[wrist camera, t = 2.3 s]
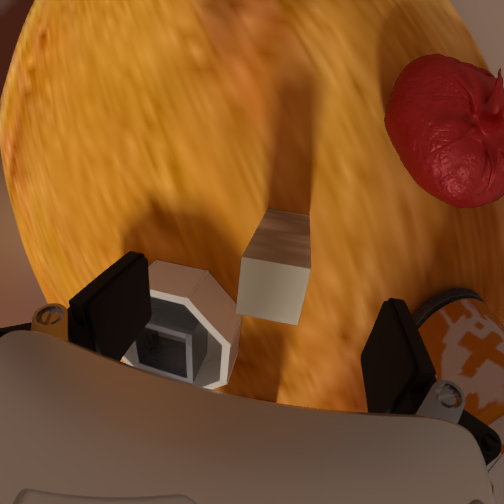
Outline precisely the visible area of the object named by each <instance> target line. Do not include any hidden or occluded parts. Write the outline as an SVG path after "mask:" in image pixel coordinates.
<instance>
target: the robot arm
mask: <svg viewBox="0 0 504 504" xmlns="http://www.w3.org/2000/svg"><path fill="white" fill-rule="evenodd" d="M69 304H70V307H69V308H68V309H66V307H65V306H63V305H61V304H57V303H52V304H47V305H45V306H42V307H41V308H39V309H38V310H36V312H35V313H34V315H33V318H32V323H26V324H21V325H16V326H10V327H5V328H0V504H504V453H503V454H501V453H500V452H501V448H502V443H501V439H500V437H499V435H498V434H497V433H496V432H495V431H494V430H493V429H492V428H490V427H489V426H487V425H486V424H484V423H483V422H482V421H480V420H479V419H477V418H476V417H474V416H473V415H472V414H470V413H469V412H467V411H466V410H464V406H465V401H466V400H465V395H464V393H463V391H462V390H461V389H460V387H459V386H458V385H456V384H455V383H453V382H451V381H448V380H439V381H437V379H436V376H435V375H436V371H435V368H434V366H433V363H432V361H431V359H430V356H429V354H428V351H427V349H426V347H425V344H424V342H423V340H422V337H421V335H420V333H419V331H418V328H417V326H416V324H415V322H414V320H413V318H412V316H411V313H410V311H409V309H408V307H407V305H406V303H405V301H404V300H401V299H394V298H390V299H389V300H388V301H384V303H383V304H382V307H381V310H380V312H379V315H378V317H377V319H376V322H375V324H374V327H373V329H372V331H371V334H370V336H369V338H368V340H367V343H366V345H365V347H364V349H363V351H362V354H361V366H362V372H363V378H364V385H365V392H366V399H367V407H368V413H363V412H350V411H337V410H326V409H317V408H309V407H301V406H294V405H287V404H280V403H274V402H268V401H263V400H257V399H252V398H247V397H242V396H237V395H233V394H228V393H224V392H219V391H215V390H211V389H207V388H203V387H199V386H196V385H192V384H188V383H185V382H181V381H178V380H174V379H171V378H168V377H164V376H161V375H158V374H155V373H152V372H149V371H146V370H143V369H140V368H137V367H134V366H131V365H128V364H126V363H123V362H120V360H121V359H122V357H123V356H124V355H125V353H126V352H127V351H128V349H129V348H130V346H131V345H132V344H133V342H134V341H135V340H136V338H137V337H138V336H139V334H140V333H141V332H142V330H143V329H144V328H145V326H146V325H147V324H148V322H149V321H150V319H151V316H152V308H151V297H150V285H149V270H148V260H147V258H145V256H144V254H142V253H137V252H132V251H130V252H128V253H127V254H125V255H124V256H123V257H122V258H120V259H119V260H118V261H116V262H115V263H114V264H113V265H111V266H110V267H109V268H108V269H106V270H105V271H104V272H103V273H102V274H100V275H99V276H98V277H97V278H95V279H94V280H93V281H92V282H91V283H89V284H88V285H87V286H86V287H85V288H83V289H82V290H81V291H80V292H79V293H78V294H76V295H75V296H74V297H73V298H72V299H71V300H69Z"/></svg>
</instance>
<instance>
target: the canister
mask: <svg viewBox="0 0 504 504" xmlns="http://www.w3.org/2000/svg"><path fill="white" fill-rule="evenodd" d="M413 320H414V322H415V324H416V326H417V328H418V331H419V333H420V335H421V337H422V340H423V342H424V344H425V347H426V349H427V351H428V354H429V356H430V359H431V361H432V363H433V366H434V368H435V371H436V375H435V376H436V379H437V381H439V380H448V381H451V382H453V383H455V384H456V385H458V386H459V387H460V389H461V390H462V391H463V393H464V395H465V400H466V401H465V406H464V410H466V411H467V412H469V413H470V414H472V415H473V416H474V417H476V418H477V419H479V420H480V421H482V422H483V423H484V424H486V425H487V426H489V427H490V428H492V429H493V430H494V431H495V432H496V433H497V434H498V435H499V437H500V439H501V443H502V448H501V452H500V453H501V454H503V453H504V327H503V325H502V324H501V323H500V321H499V320H498V319H497V318H496V316H495V315H494V314H493V313H492V311H491V310H490V309H489V308H488V306H487V305H486V304H485V303H484V302H483V300H482V299H481V298H480V297H479V296H478V295H477V294H476V293H475V292H473V291H472V290H469V289H464V288H458V289H452V290H448V291H445V292H443V293H441V294H439V295H437V296H435V297H434V298H432V299H431V300H429V301H428V302H427V303H426V304H424V305H423V306H422V307H421V308H420V309H419V310H418V311H417V312H416V314H415V315H414V316H413Z"/></svg>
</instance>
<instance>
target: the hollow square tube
mask: <svg viewBox="0 0 504 504" xmlns="http://www.w3.org/2000/svg"><path fill="white" fill-rule="evenodd" d="M150 297H151V308H152V316H151V319H150V321H149V322H148V324H147V325H146V326H145V328H144V329H143V330H142V332H141V333H140V334H139V336H138V337H137V338H136V340H135V341H134V342H133V344H132V345H131V346H132V351H133V356H134V361H135V365H137V366H139V367H142V368H145V369H148V370H151V371H154V372H157V373H160V374H163V375H166V376H169V377H172V378H176V379H179V380H182V381H186V382H189V383H193V382H194V380H195V378H196V376H197V374H198V372H199V369H200V367H201V365H202V363H203V361H204V359H205V356H206V354H207V344H208V330H207V329H206V328H205V327H204V326H203V325H202V324H201V322H200V321H199V320H198V319H197V318H196V317H195V316H194V315H193V314H192V313H191V312H190V310H189V309H188V308H187V307H186V306H185V305H183V304H179V303H175V302H171V301H167V300H163V299H159V298H155V297H152V296H150ZM158 331H160V332H163V333H167V334H170V335H174V336H177V337H181V338H185V339H186V343H183V342H179V341H175V340H172V339H168V338H165V337H161V336H158Z"/></svg>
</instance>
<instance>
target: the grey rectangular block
mask: <svg viewBox="0 0 504 504" xmlns="http://www.w3.org/2000/svg"><path fill="white" fill-rule="evenodd" d="M310 271H311V247H310V219H309V215H305V214H299V213H294V212H288V211H282V210H276V209H270V208H268V209H267V211H266V213H265V215H264V217H263V219H262V220H261V222H260V224H259V226H258V228H257V230H256V231H255V233H254V235H253V237H252V239H251V241H250V242H249V244H248V246H247V248H246V250H245V252H244V253H243V255H242V259H241V268H240V277H239V286H238V295H237V305H236V314H240V315H245V316H250V317H255V318H260V319H266V320H271V321H276V322H282V323H287V324H293V325H298V321H299V317H300V313H301V309H302V305H303V301H304V297H305V293H306V289H307V285H308V280H309V276H310Z"/></svg>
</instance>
